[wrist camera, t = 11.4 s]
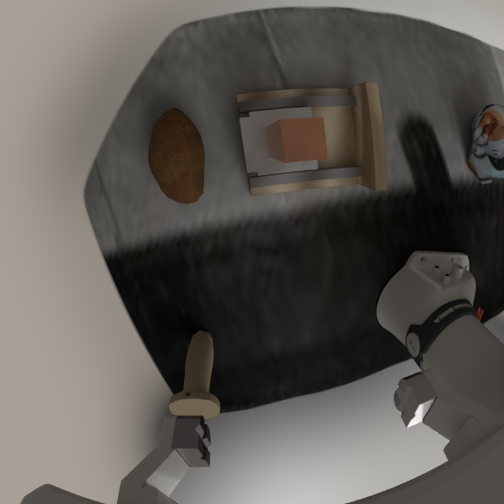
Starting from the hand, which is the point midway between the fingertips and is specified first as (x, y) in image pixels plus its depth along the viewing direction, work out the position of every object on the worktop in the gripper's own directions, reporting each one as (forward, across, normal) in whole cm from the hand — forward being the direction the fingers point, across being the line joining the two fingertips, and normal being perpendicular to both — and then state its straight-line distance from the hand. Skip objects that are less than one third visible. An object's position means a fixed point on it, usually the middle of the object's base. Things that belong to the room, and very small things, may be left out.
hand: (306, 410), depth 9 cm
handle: (+29, +11, +19) cm, 36 cm away
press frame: (+29, -8, -10) cm, 32 cm away
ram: (+28, -4, -10) cm, 29 cm away
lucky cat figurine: (+29, -42, -10) cm, 52 cm away
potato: (+29, +8, -9) cm, 32 cm away
